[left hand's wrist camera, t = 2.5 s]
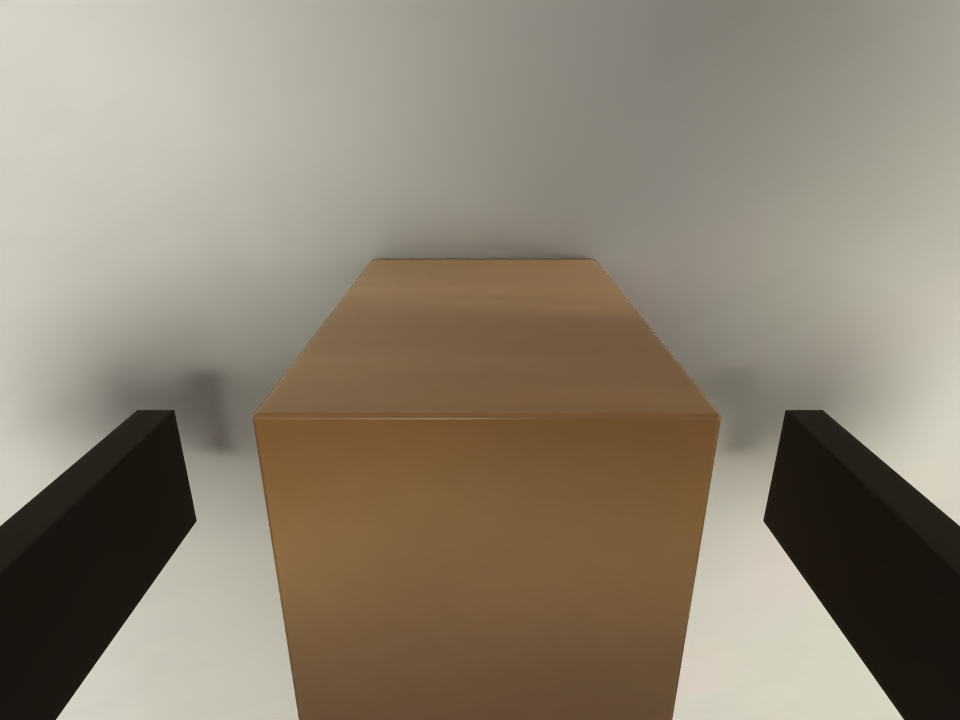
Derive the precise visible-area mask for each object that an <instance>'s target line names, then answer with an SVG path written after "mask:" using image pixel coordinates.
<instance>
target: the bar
mask: <svg viewBox="0 0 960 720" xmlns="http://www.w3.org/2000/svg"><path fill="white" fill-rule="evenodd" d="M720 420H721V417H720V414H719V413H718V411H717V410H716V409H715V408H714V407H713V405H712V404H711V403H710V402H709V400H708V399H707V398H706V397H705V395H704V394H703V393H702V392H701V390H700V389H699V388H698V387H697V385H696V384H695V383H694V382H693V380H692V379H691V378H690V377H689V376H688V374H687V373H686V372H685V371H684V369H683V368H682V367H681V366H680V364H679V363H678V362H677V361H676V359H675V358H674V357H673V356H672V354H671V353H670V352H669V351H668V350H667V348H666V347H665V346H664V345H663V343H662V342H661V341H660V340H659V338H658V337H657V336H656V335H655V333H654V332H653V331H652V330H651V328H650V327H649V326H648V325H647V324H646V322H645V321H644V320H643V319H642V317H641V316H640V315H639V314H638V312H637V311H636V310H635V309H634V307H633V306H632V305H631V304H630V302H629V301H628V300H627V299H626V298H625V296H624V295H623V294H622V293H621V291H620V290H619V289H618V288H617V286H616V285H615V284H614V283H613V281H612V280H611V279H610V278H609V276H608V275H607V274H606V273H605V271H604V270H603V269H602V268H601V267H600V265H599V264H598V263H597V262H596V260H594V259H374V260H372V261H371V263H370V264H369V265H368V267H367V268H366V269H365V270H364V272H363V273H362V274H361V276H360V277H359V278H358V280H357V281H356V282H355V283H354V285H353V286H352V287H351V289H350V290H349V291H348V293H347V294H346V295H345V296H344V298H343V299H342V300H341V302H340V303H339V304H338V306H337V307H336V308H335V309H334V311H333V312H332V313H331V315H330V316H329V317H328V319H327V320H326V321H325V322H324V324H323V325H322V326H321V328H320V329H319V330H318V331H317V333H316V334H315V335H314V337H313V338H312V339H311V341H310V342H309V343H308V344H307V346H306V347H305V348H304V350H303V351H302V352H301V354H300V355H299V356H298V357H297V359H296V360H295V361H294V363H293V364H292V365H291V367H290V368H289V369H288V370H287V372H286V373H285V374H284V376H283V377H282V378H281V380H280V381H279V382H278V383H277V385H276V386H275V387H274V389H273V390H272V391H271V392H270V394H269V395H268V396H267V398H266V399H265V400H264V402H263V403H262V404H261V405H260V407H259V408H258V409H257V411H256V412H255V413H254V416H253V421H254V428H255V434H256V441H257V447H258V454H259V460H260V467H261V474H262V480H263V487H264V493H265V500H266V506H267V513H268V520H269V526H270V533H271V539H272V546H273V552H274V559H275V566H276V572H277V579H278V585H279V592H280V598H281V605H282V612H283V618H284V625H285V631H286V638H287V644H288V651H289V658H290V664H291V671H292V677H293V684H294V690H295V697H296V704H297V710H298V717H299V720H672V718H673V711H674V705H675V699H676V693H677V687H678V680H679V674H680V668H681V662H682V656H683V649H684V643H685V637H686V631H687V625H688V618H689V612H690V606H691V600H692V594H693V588H694V581H695V575H696V569H697V563H698V557H699V550H700V544H701V538H702V532H703V526H704V519H705V513H706V507H707V501H708V495H709V488H710V482H711V476H712V470H713V464H714V457H715V451H716V445H717V439H718V433H719V426H720Z"/></svg>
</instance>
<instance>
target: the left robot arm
mask: <svg viewBox="0 0 960 720" xmlns="http://www.w3.org/2000/svg"><path fill="white" fill-rule="evenodd" d="M196 521H197V520H196V515H195V510H194V505H193V500H192V495H191V490H190V485H189V481H188V476H187V471H186V466H185V461H184V456H183V451H182V446H181V441H180V436H179V431H178V426H177V421H176V416H175V411H174V410H137V411H136V412H135V413H134V414H132V415H131V416H130V417H129V418H128V419H127V420H125V421H124V422H123V423H122V424H121V425H119V426H118V427H117V428H116V429H115V430H114V431H112V432H111V433H110V434H109V435H108V436H106V437H105V438H104V439H103V440H102V441H100V442H99V443H98V444H97V445H96V446H95V447H93V448H92V449H91V450H90V451H89V452H87V453H86V454H85V455H84V456H83V457H82V458H80V459H79V460H78V461H77V462H76V463H74V464H73V465H72V466H71V467H70V468H69V469H67V470H66V471H65V472H64V473H63V474H61V475H60V476H59V477H58V478H57V479H56V480H54V481H53V482H52V483H51V484H50V485H48V486H47V487H46V488H45V489H44V490H43V491H41V492H40V493H39V494H38V495H37V496H35V497H34V498H33V499H32V500H31V501H30V502H28V503H27V504H26V505H25V506H24V507H22V508H21V509H20V510H19V511H18V512H17V513H15V514H14V515H13V516H12V517H11V518H9V519H8V520H7V521H6V522H5V523H4V524H2V525H1V526H0V720H56V719H57V717H58V716H59V715H60V713H61V712H62V710H63V709H64V707H65V706H66V705H67V703H68V702H69V700H70V699H71V698H72V696H73V695H74V693H75V692H76V691H77V689H78V688H79V686H80V685H81V683H82V682H83V681H84V679H85V678H86V676H87V675H88V674H89V672H90V671H91V669H92V668H93V667H94V665H95V664H96V662H97V661H98V659H99V658H100V657H101V655H102V654H103V652H104V651H105V650H106V648H107V647H108V645H109V644H110V642H111V641H112V640H113V638H114V637H115V635H116V634H117V633H118V631H119V630H120V628H121V627H122V626H123V624H124V623H125V621H126V620H127V618H128V617H129V616H130V614H131V613H132V611H133V610H134V609H135V607H136V606H137V604H138V603H139V602H140V600H141V599H142V597H143V596H144V594H145V593H146V592H147V590H148V589H149V587H150V586H151V585H152V583H153V582H154V580H155V579H156V578H157V576H158V575H159V573H160V572H161V570H162V569H163V568H164V566H165V565H166V563H167V562H168V561H169V559H170V558H171V556H172V555H173V554H174V552H175V551H176V549H177V548H178V546H179V545H180V544H181V542H182V541H183V539H184V538H185V537H186V535H187V534H188V532H189V531H190V529H191V528H192V527H193V525H194V524H195V522H196ZM763 521H764V522H765V524H766V525H767V527H768V528H769V529H770V531H771V532H772V534H773V535H774V537H775V538H776V539H777V541H778V542H779V544H780V545H781V546H782V548H783V549H784V551H785V552H786V553H787V555H788V556H789V558H790V559H791V561H792V562H793V563H794V565H795V566H796V568H797V569H798V570H799V572H800V573H801V575H802V576H803V577H804V579H805V580H806V582H807V583H808V585H809V586H810V587H811V589H812V590H813V592H814V593H815V594H816V596H817V597H818V599H819V600H820V602H821V603H822V604H823V606H824V607H825V609H826V610H827V611H828V613H829V614H830V616H831V617H832V618H833V620H834V621H835V623H836V624H837V626H838V627H839V628H840V630H841V631H842V633H843V634H844V635H845V637H846V638H847V640H848V641H849V642H850V644H851V645H852V647H853V648H854V650H855V651H856V652H857V654H858V655H859V657H860V658H861V659H862V661H863V662H864V664H865V665H866V666H867V668H868V669H869V671H870V672H871V674H872V675H873V676H874V678H875V679H876V681H877V682H878V683H879V685H880V686H881V688H882V689H883V690H884V692H885V693H886V695H887V696H888V698H889V699H890V700H891V702H892V703H893V705H894V706H895V707H896V709H897V710H898V712H899V713H900V715H901V716H902V717H903V719H904V720H960V526H959V525H958V524H956V523H955V522H954V521H953V520H952V519H951V518H949V517H948V516H947V515H946V514H945V513H943V512H942V511H941V510H940V509H939V508H938V507H936V506H935V505H934V504H933V503H932V502H930V501H929V500H928V499H927V498H926V497H925V496H923V495H922V494H921V493H920V492H919V491H917V490H916V489H915V488H914V487H913V486H912V485H910V484H909V483H908V482H907V481H906V480H904V479H903V478H902V477H901V476H900V475H899V474H897V473H896V472H895V471H894V470H893V469H891V468H890V467H889V466H888V465H887V464H886V463H884V462H883V461H882V460H881V459H880V458H878V457H877V456H876V455H875V454H874V453H873V452H871V451H870V450H869V449H868V448H867V447H865V446H864V445H863V444H862V443H861V442H860V441H858V440H857V439H856V438H855V437H854V436H852V435H851V434H850V433H849V432H848V431H847V430H845V429H844V428H843V427H842V426H841V425H839V424H838V423H837V422H836V421H835V420H834V419H832V418H831V417H830V416H829V415H828V414H826V413H825V412H824V411H823V410H786V411H785V416H784V421H783V426H782V431H781V436H780V441H779V446H778V451H777V456H776V461H775V466H774V471H773V476H772V481H771V486H770V491H769V496H768V500H767V505H766V510H765V515H764V520H763Z"/></svg>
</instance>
